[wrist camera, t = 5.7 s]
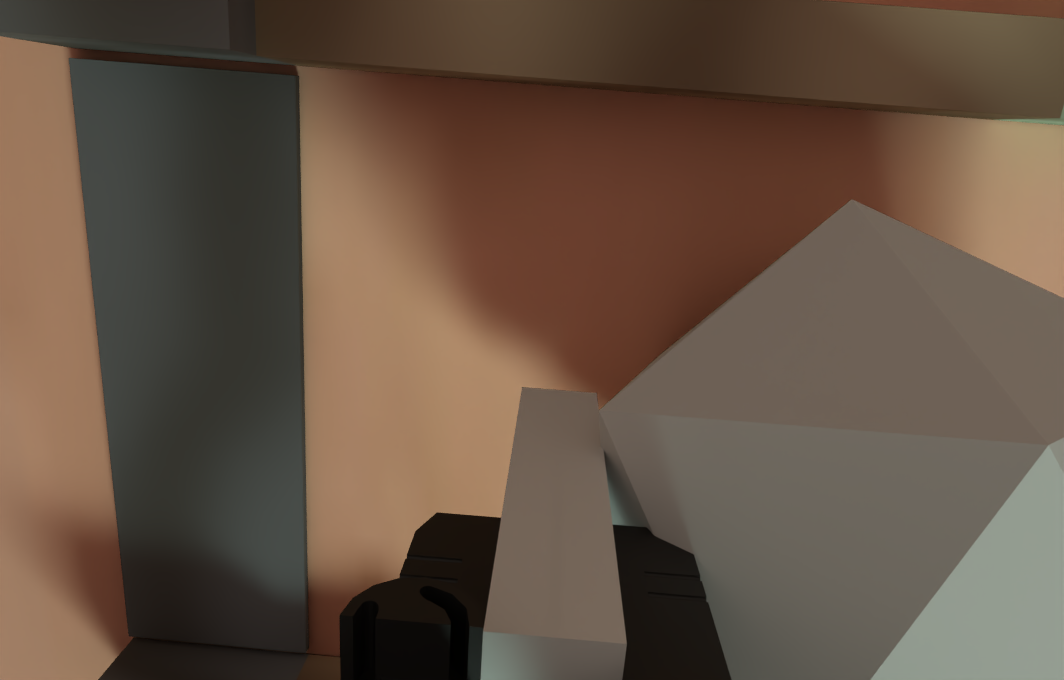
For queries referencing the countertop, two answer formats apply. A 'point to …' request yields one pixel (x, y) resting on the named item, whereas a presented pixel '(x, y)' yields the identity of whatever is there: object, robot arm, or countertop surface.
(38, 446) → the countertop surface
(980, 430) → the die
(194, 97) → the trap channel
